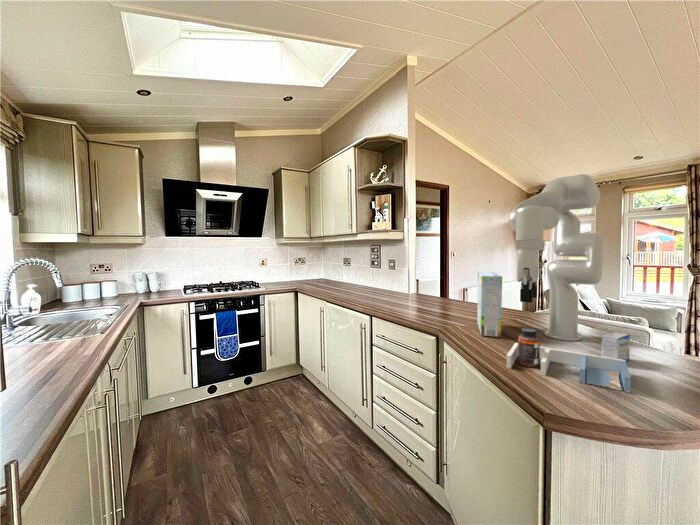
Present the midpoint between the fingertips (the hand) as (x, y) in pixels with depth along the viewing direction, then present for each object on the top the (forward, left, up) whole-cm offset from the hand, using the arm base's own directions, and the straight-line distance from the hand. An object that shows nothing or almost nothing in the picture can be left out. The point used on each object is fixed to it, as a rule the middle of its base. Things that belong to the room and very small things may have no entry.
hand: (528, 299), depth 96 cm
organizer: (0, +9, -21) cm, 23 cm away
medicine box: (-18, +22, -21) cm, 36 cm away
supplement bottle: (0, 0, -21) cm, 21 cm away
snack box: (-33, -20, -21) cm, 44 cm away
